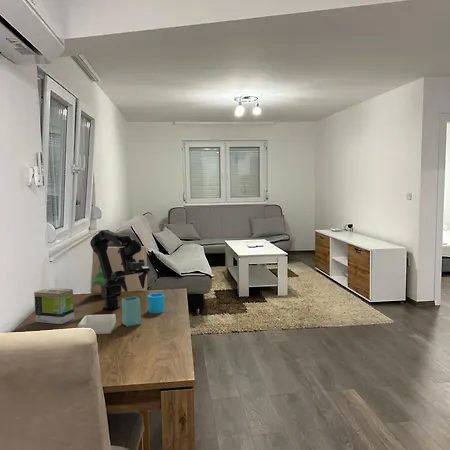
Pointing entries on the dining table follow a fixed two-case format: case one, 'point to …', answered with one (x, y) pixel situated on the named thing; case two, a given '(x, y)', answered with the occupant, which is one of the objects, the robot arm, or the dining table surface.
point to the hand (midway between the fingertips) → (135, 290)
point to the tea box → (54, 305)
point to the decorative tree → (99, 278)
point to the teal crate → (131, 311)
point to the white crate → (99, 323)
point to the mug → (156, 303)
